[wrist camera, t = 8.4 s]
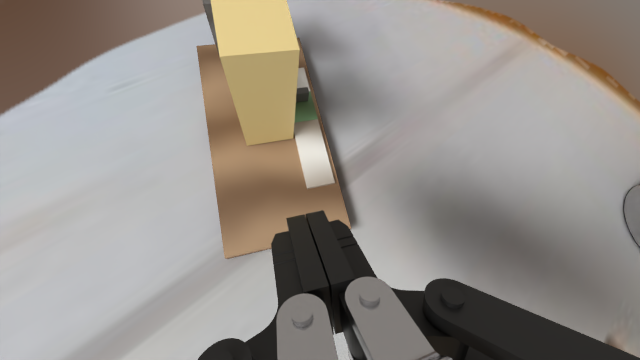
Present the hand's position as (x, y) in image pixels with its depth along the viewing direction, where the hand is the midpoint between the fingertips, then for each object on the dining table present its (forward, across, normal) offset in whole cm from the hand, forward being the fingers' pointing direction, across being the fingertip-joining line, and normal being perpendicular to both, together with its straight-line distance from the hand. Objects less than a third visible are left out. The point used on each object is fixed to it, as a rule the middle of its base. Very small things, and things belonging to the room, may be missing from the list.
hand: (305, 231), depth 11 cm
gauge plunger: (+16, -1, -2) cm, 16 cm away
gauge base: (+16, 0, +1) cm, 16 cm away
